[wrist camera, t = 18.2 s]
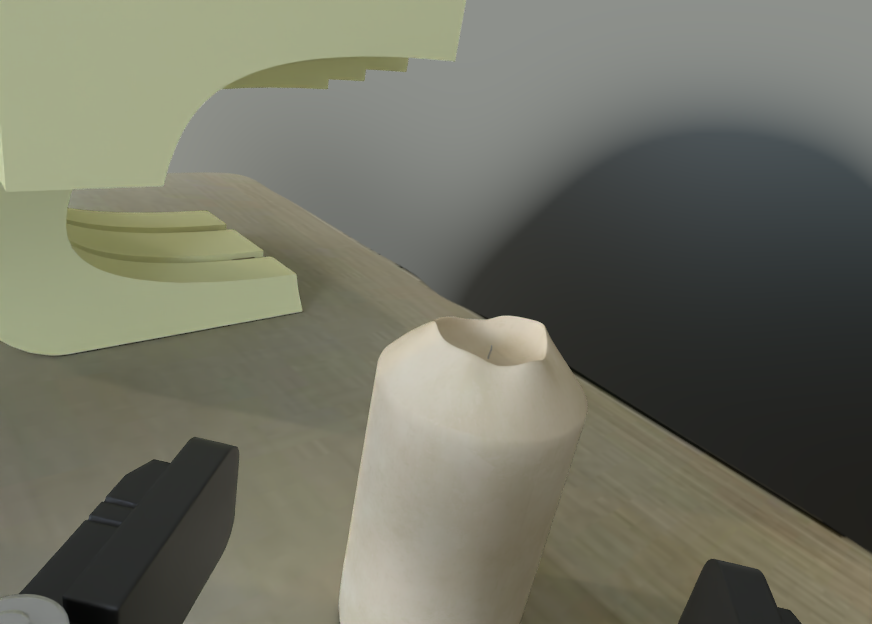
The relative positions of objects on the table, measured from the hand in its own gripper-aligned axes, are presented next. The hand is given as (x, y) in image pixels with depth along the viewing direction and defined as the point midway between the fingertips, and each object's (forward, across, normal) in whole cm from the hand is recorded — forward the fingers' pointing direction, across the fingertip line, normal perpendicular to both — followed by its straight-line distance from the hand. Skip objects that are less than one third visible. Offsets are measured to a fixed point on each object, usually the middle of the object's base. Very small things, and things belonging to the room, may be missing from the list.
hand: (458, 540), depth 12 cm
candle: (+7, 0, +9) cm, 11 cm away
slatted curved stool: (+24, +20, +9) cm, 32 cm away
